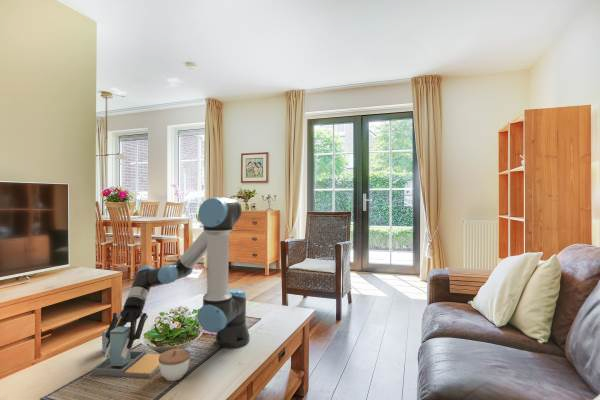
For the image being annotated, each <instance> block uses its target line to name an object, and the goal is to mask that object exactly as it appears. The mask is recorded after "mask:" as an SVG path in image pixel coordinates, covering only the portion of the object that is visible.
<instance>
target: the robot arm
mask: <svg viewBox="0 0 600 400" xmlns="http://www.w3.org/2000/svg"><path fill="white" fill-rule="evenodd" d="M242 211H243V209H242V206H241V204H240V202H239V201H238V200H237V199H235V198H232V197H219V196H216V197H210V198H207V199H205V200H204V201H202V203H201V204H200V205H199V208H198V220H199V221H200V222H201V224H202V225H203V231H202V232H201V234H199V235H198V236H197V238H196V239H195V240H194V241H193V242H192V243H191V244H190V246H189V247H188V248H187V249H186V250H185V251H184V253H183V254H182V255H181V256H180V257H179V258H178V260H177V261H175V262H174V263H171V264H166V265H164V266H161V267H160V266H159V267H157V268H155V267H152V265H151V266H150V265H141V266H140V267H139V268H138V270H137V272H136V274H135V276H134V279H133V282H132V284H131V287H130V289H129V292H128V294H127V296H126V297H127V298H126V299H125V302H124V305H123V308H122V310H121V311H120V312H117V313H116V312H113V313H112V319H111V322H110V324H109V325H108V328H107V329H106V330H107V333H106V335H105V337H106V338H107V339H109V341H108V343H107V346H106V348H107V351H106V353H104V357H105V358H106V359H110V331H111V330H113V329H115V327H118V326H122V327H123V326H124V327H125V326H127V323H130V326H129V327H131V329H130V337H129V338H130V339H127V340H126V343H125V346H124V348H123V351H122V354H121V357H122V358H123V359H125V358H126V356H127V353H128V350H129V349H130V350H131V349H132V348H133V344H134V342H135V341H136V340H140V339H141V336H142V333H143V330H144V327H145V323H146V321H147V319H148V318H149V315H148V314H147V313H146V312H143V310H144V308H145V306H146V305H145V304H146V301H147V300H148V296H149V293H150V290H151V288H154V287H158V286H163V285H169V284H172V283H174V282H175V281H177V280H179V279H182V278H186V277H188V276H189V275H191V274H192V273H193V270H194V267H195V266H196V265H197V264H198V262H200V261H201V260H202V258H203V257H204V256H206V258H207V259H206V261H207V262H206V274H207V275H206V293H205V294H203V296H202V306H201V307H200V309H199V310H198V312H197V321H198V324H199V326H200V327H201V328H202V329H203V330H204V331H206V332H207V333H208V332H209V333H211V334H212V333H213V334H214V333H216V334H215V338H214V340H215V341H214V342H215V345H216V346H218V347H219V348H224V349H233V348H240V347H243V346H245V345H247V344H248V343H249V342H250V332H249V329H248V327H247V323H246V322H247V321H246V320H247V317H246V316H247V314H246V313H247V311H246V310H247V307H246V306H247V303H246V302H247V295H246V291H245V290H242V289H238V288H229V255H230V253H229V252H230V251H229V245H230V244H229V243H230V242H229V241H230V239H229V237H230V233H231V232H233V228H234V226H235V225H236V224H237V223H238V221H239V220H240V219H241V216H242ZM206 254H207V255H206ZM120 317H121V318H120ZM138 319H139V320H138ZM137 320H138V321H139V322H138V321H137ZM137 322H138V324H137ZM116 325H117V326H116Z"/></svg>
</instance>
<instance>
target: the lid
mask: <svg viewBox="0 0 600 400" xmlns="http://www.w3.org/2000/svg"><path fill="white" fill-rule="evenodd" d="M160 355H161V353H159V354H157V353H146V355H144V356H143V357H142V358H141V359H140V360H138V361H137V362H136V363H135V364H134V365H132V366H131V367H130V368H129V369H128V370H126V371H125V373H123V374H122V376H121V377H129V378H130V377H131V378H145V379H146V378H147V379H148V378H151V379H152V377H154V375H156V373H158V372H159V371H160V369H159V356H160Z"/></svg>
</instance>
